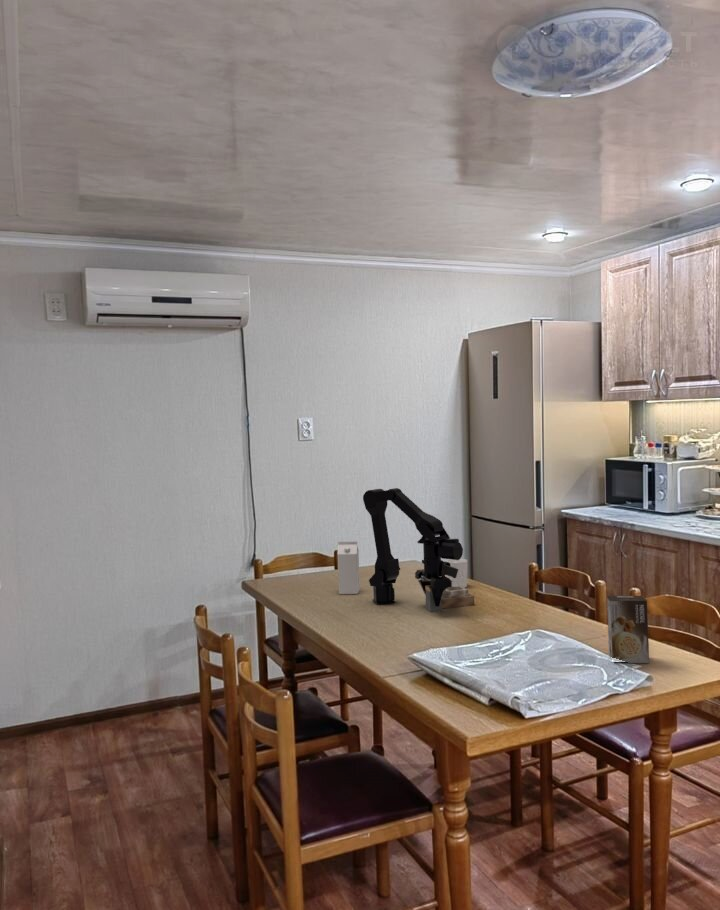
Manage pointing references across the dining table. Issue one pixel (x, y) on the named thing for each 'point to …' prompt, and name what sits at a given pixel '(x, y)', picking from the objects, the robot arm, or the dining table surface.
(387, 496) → the robot arm
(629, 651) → the coffee box
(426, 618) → the dining table surface
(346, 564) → the milk carton
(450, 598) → the walled box
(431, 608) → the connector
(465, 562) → the white cup
